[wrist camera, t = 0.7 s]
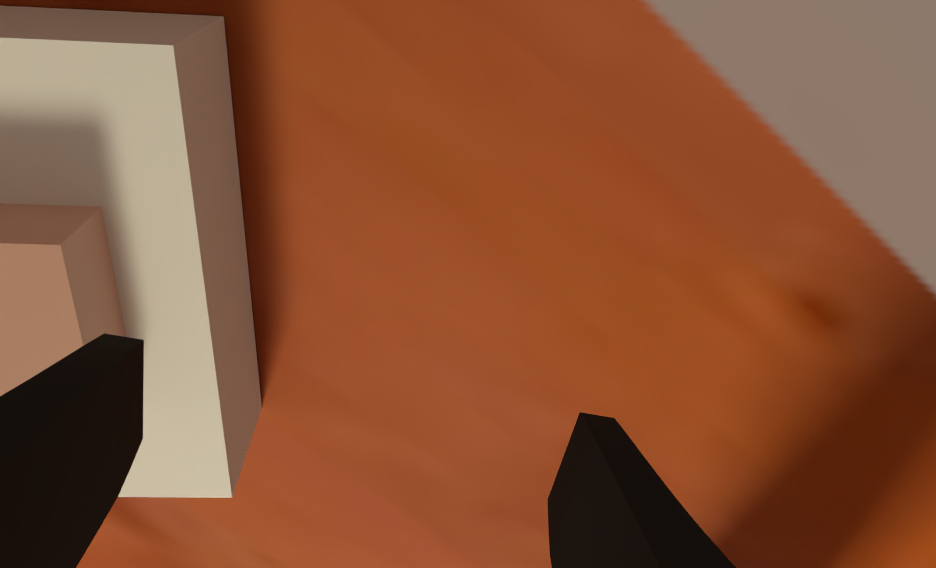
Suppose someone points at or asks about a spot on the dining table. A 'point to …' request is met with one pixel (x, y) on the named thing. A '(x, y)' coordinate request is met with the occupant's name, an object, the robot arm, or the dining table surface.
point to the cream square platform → (147, 213)
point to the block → (52, 286)
